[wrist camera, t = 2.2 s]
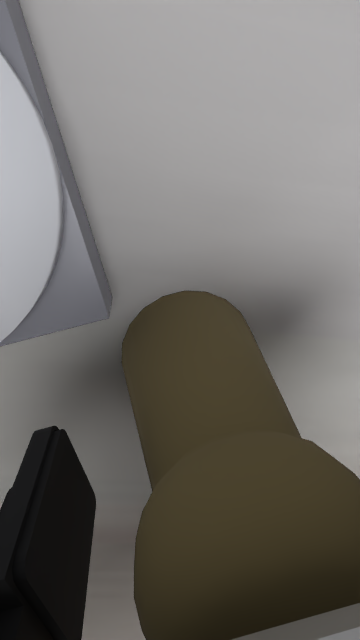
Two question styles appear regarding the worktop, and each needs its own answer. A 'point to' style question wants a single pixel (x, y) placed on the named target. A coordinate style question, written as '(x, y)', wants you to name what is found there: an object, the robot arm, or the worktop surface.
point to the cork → (229, 484)
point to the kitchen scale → (39, 206)
